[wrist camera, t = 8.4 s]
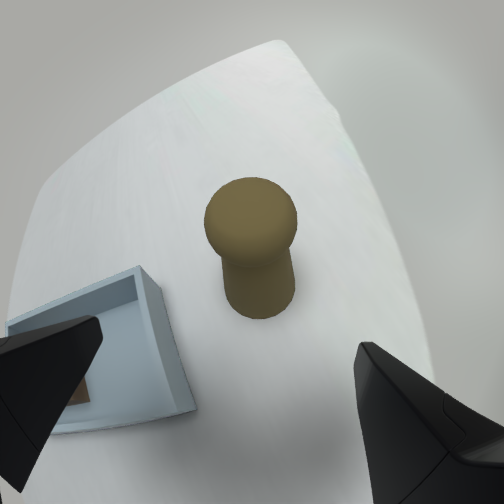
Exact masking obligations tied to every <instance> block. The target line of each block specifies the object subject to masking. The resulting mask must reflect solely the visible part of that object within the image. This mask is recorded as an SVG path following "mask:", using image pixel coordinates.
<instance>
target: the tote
mask: <svg viewBox="0 0 504 504" xmlns="http://www.w3.org/2000/svg"><path fill="white" fill-rule="evenodd" d="M85 315H92V316H96V317H97V318H98V319H99V322H100V326H101V330H102V333H103V342H102V344H101V346H100V348H99V349H98V351H97V353H96V355H95V357H94V359H93V361H92V363H91V365H90V367H89V369H88V371H87V373H86V374H85V381H86V385H87V389H88V394H89V398H90V402H87V403H82V404H77V405H72V406H66V407H65V409H64V411H63V413H62V414H61V416H60V418H59V420H58V421H57V423H56V425H55V427H54V428H53V430H52V432H51V434H50V435H52V434H67V433H78V432H88V431H96V430H103V429H110V428H116V427H122V426H128V425H133V424H139V423H144V422H148V421H153V420H158V419H162V418H166V417H170V416H174V415H178V414H182V413H186V412H190V411H193V410H197V407H196V405H195V402H194V399H193V396H192V394H191V391H190V388H189V385H188V382H187V379H186V376H185V373H184V370H183V367H182V364H181V361H180V357H179V354H178V351H177V348H176V344H175V341H174V337H173V334H172V330H171V327H170V323H169V319H168V316H167V312H166V308H165V304H164V300H163V296H162V292H161V288H160V287H159V286H158V285H157V284H156V283H155V282H154V281H153V280H152V278H151V277H150V276H149V275H148V274H147V273H146V272H145V271H144V270H143V269H142V267H141V266H140V265H138V266H136V267H133V268H131V269H128V270H126V271H124V272H121V273H119V274H116V275H114V276H111V277H109V278H106V279H104V280H101V281H99V282H97V283H94V284H92V285H89V286H87V287H85V288H82V289H80V290H78V291H75V292H73V293H71V294H68V295H66V296H63V297H61V298H59V299H57V300H54V301H52V302H50V303H47V304H45V305H43V306H41V307H38V308H36V309H34V310H32V311H29V312H27V313H25V314H23V315H20V316H18V317H16V318H14V319H12V320H9V321H7V322H5V337H8V336H12V335H15V334H19V333H23V332H27V331H30V330H34V329H38V328H42V327H45V326H49V325H53V324H56V323H60V322H64V321H67V320H71V319H74V318H78V317H82V316H85Z"/></svg>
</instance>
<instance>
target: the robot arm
mask: <svg viewBox="0 0 504 504" xmlns="http://www.w3.org/2000/svg"><path fill="white" fill-rule="evenodd" d="M102 342H103V333H102V330H101V326H100V322H99V319H98V318H97V317H96V316H92V315H85V316H82V317H78V318H74V319H71V320H67V321H64V322H60V323H56V324H53V325H49V326H45V327H42V328H38V329H34V330H30V331H27V332H23V333H19V334H15V335H12V336H8V337H4V338H0V476H1V477H2V478H3V479H4V480H6V481H7V482H8V483H9V484H10V485H11V486H12V487H13V488H14V489H16V490H17V491H18V492H19V493H21V492H22V491H23V489H24V487H25V484H26V482H27V480H28V478H29V476H30V474H31V471H32V469H33V467H34V465H35V463H36V461H37V459H38V457H39V455H40V453H41V451H42V449H43V447H44V445H45V443H46V441H47V439H48V438H49V436H50V434H51V432H52V430H53V428H54V427H55V425H56V423H57V421H58V420H59V418H60V416H61V414H62V413H63V411H64V409H65V407H66V406H67V404H68V402H69V401H70V399H71V397H72V396H73V394H74V392H75V391H76V389H77V387H78V386H79V384H80V382H81V381H82V379H83V378H84V376H85V374H86V373H87V371H88V369H89V367H90V365H91V363H92V361H93V359H94V357H95V355H96V353H97V351H98V349H99V348H100V346H101V344H102ZM354 377H355V388H356V399H357V409H358V415H359V419H360V424H361V429H362V435H363V440H364V445H365V451H366V456H367V462H368V468H369V475H370V481H371V488H372V495H373V503H374V504H504V427H503V426H501V425H499V424H498V423H495V422H494V421H492V420H490V419H488V418H486V417H485V416H483V415H481V414H479V413H477V412H476V411H474V410H472V409H470V408H468V407H467V406H465V405H464V404H462V403H461V402H459V401H458V400H456V399H454V398H453V397H452V396H450V395H449V394H447V393H445V392H444V391H443V390H441V389H440V388H438V387H437V386H436V385H434V384H433V383H431V382H430V381H428V380H427V379H425V378H424V377H423V376H421V375H420V374H418V373H417V372H415V371H414V370H412V369H411V368H409V367H408V366H407V365H405V364H404V363H402V362H401V361H399V360H398V359H397V358H395V357H394V356H392V355H391V354H389V353H388V352H386V351H385V350H384V349H382V348H381V347H379V346H378V345H376V344H375V343H373V342H361V343H360V344H359V346H358V350H357V354H356V358H355V362H354ZM0 504H2V499H1V494H0Z"/></svg>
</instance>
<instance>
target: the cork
mask: <svg viewBox="0 0 504 504" xmlns="http://www.w3.org/2000/svg"><path fill="white" fill-rule="evenodd" d="M204 227H205V232H206V236H207V239H208V241H209V243H210V244H211V246H212V247H213V249H214V250H215V252H216V253H217V254H218V255H219V256H221V259H222V269H223V279H224V289H225V293H226V297H227V300H228V302H229V303H230V305H231V306H232V308H233V309H234V310H236V311H237V312H238V313H240V314H241V315H243V316H246V317H249V318H252V319H266V318H269V317H273V316H276V315H277V314H279V313H280V312H282V311H283V310H285V308H286V307H287V306H288V305H289V303H290V302H291V301H292V298H293V295H294V292H295V278H294V273H293V267H292V261H291V256H290V250H289V247H290V245H291V244H292V242H293V239H294V237H295V234H296V231H297V211H296V208H295V206H294V203H293V201H292V199H291V197H290V196H289V195H288V194H287V193H286V192H285V191H284V190H283V189H282V188H281V187H280V186H279V185H277V184H276V183H274V182H272V181H270V180H267V179H262V178H258V177H248V178H241V179H237V180H233V181H231V182H229V183H228V184H226V185H224V186H222V187H221V188H220V189H219V190H218V191H217V192H216V193H215V194H214V195H213V197H212V198H211V200H210V202H209V204H208V205H207V207H206V212H205V217H204Z"/></svg>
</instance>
